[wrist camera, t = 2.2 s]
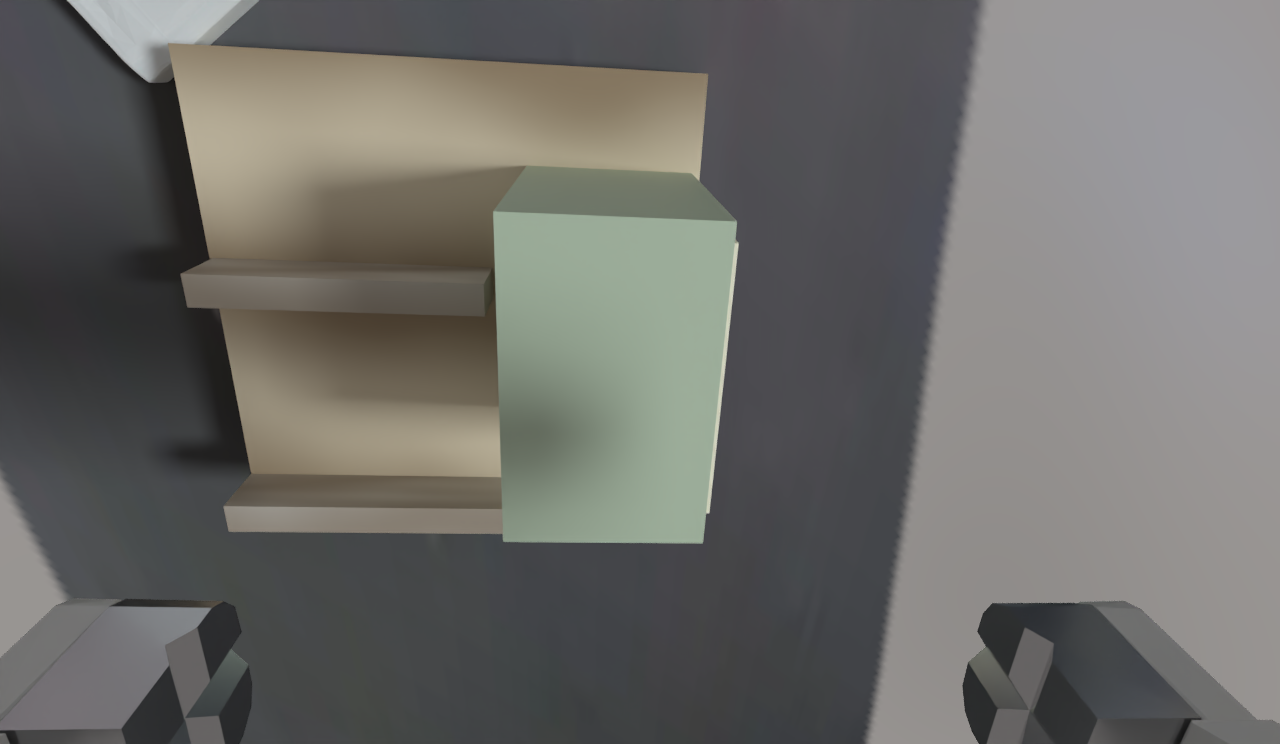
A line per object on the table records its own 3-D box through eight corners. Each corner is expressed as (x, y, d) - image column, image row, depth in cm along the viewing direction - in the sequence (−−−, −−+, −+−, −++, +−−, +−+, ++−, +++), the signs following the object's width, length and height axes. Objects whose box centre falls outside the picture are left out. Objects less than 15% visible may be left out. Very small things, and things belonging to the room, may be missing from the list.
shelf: (213, 46, 17) (122, 39, 14) (696, 73, 18) (718, 74, 15) (285, 464, 22) (229, 534, 19) (666, 470, 23) (677, 538, 19)
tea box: (529, 408, 19) (503, 541, 14) (527, 166, 17) (492, 211, 11) (677, 411, 20) (710, 543, 14) (697, 173, 17) (745, 222, 12)
